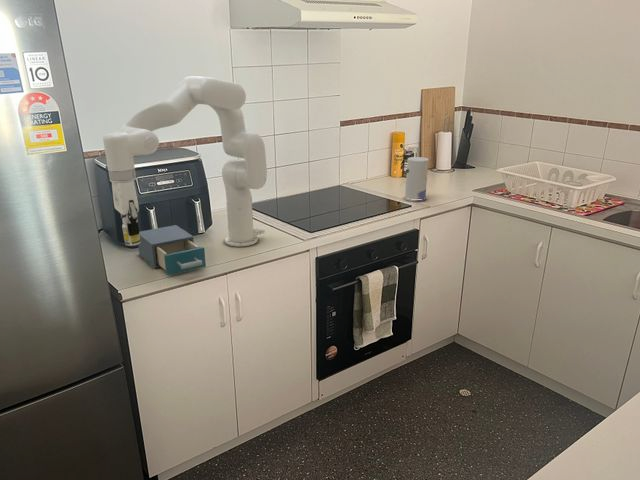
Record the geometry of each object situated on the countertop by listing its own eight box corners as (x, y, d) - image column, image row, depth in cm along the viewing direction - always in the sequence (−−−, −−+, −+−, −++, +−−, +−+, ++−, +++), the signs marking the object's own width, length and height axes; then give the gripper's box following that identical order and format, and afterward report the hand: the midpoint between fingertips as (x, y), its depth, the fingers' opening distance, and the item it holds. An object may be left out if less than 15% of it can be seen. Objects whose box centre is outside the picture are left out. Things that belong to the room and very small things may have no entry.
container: (404, 196, 277) (407, 156, 270) (424, 197, 276) (428, 156, 268) (404, 201, 268) (407, 160, 260) (425, 202, 267) (429, 161, 259)
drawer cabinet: (195, 259, 196) (193, 236, 192) (154, 268, 188) (151, 244, 185) (178, 247, 208) (176, 224, 204) (139, 255, 200) (136, 232, 196)
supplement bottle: (142, 240, 176) (138, 215, 172) (138, 245, 171) (134, 220, 168) (127, 240, 176) (123, 215, 172) (123, 246, 171) (118, 220, 168)
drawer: (212, 271, 183) (211, 252, 181) (173, 281, 176) (171, 261, 174) (188, 254, 198) (187, 236, 196) (151, 262, 191) (149, 243, 188)
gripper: (101, 171, 169) (111, 227, 176) (118, 182, 156) (127, 242, 164) (126, 168, 173) (134, 223, 180) (144, 178, 160) (152, 237, 168)
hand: (131, 231), depth 172 cm, fingers closed on supplement bottle, 4 cm apart
